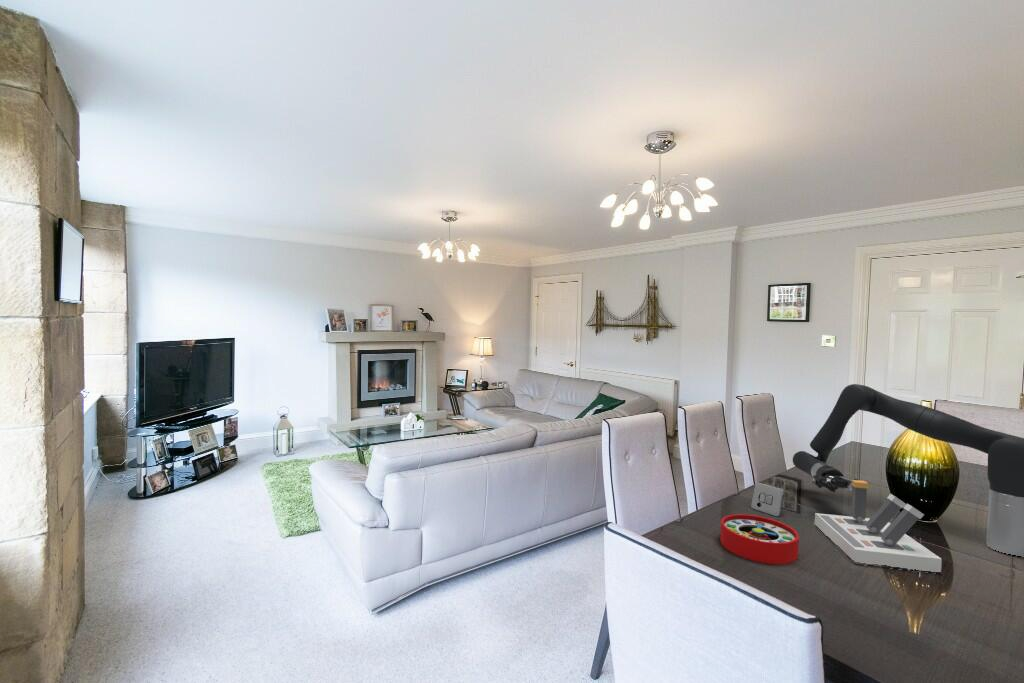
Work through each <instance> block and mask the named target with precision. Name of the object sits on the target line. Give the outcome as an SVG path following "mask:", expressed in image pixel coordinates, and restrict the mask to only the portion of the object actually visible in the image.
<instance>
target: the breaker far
mask: <svg viewBox="0 0 1024 683" xmlns="http://www.w3.org/2000/svg"><path fill="white" fill-rule="evenodd" d="M905 504H906V505H905V506H904V507H903V510H901V511H900V513H899V514H898V515H897V516H896V518H894V519H893V520H892V522H890V523H891V524H890V525H889V526H888V527H887V528H886V530H885V531H884V532H883V533H882V534H881V535H880V536H882V537H881V539H882V540H883V541H884V542H885V543H886V544H888V545H895V544H896V543H897V542H898V541H899V540H900V539H901V538H902V537H903V536H904V534H906V533H907V532H909V530H910V529H911V528H912V527H913V526H914V524H916V522H917V521H918V520H921V519H922V518H923V517H924V516H925V513H922V512H921V511H920V510H919V509H917V508H915V507H914V506H912V505H910V504H909V503H905Z"/></svg>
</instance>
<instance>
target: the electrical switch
mask: <svg viewBox="0 0 1024 683" xmlns="http://www.w3.org/2000/svg"><path fill="white" fill-rule="evenodd" d="M752 494H753V495H752V498H751V499H752V500H751V504H750V507H751V509H752V510H756V511H758V512H759V511H760V512H762V513H765V514H767V515H771V516H773V517H777V516H778V517H779V516H780V515H781V514H782V508H783V503H784V498H785V491H784V489H783V488H780V487H775V486H773V485H768V484H765V483H762V482H755V485H754V489H753V493H752Z"/></svg>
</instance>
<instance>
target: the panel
mask: <svg viewBox="0 0 1024 683" xmlns="http://www.w3.org/2000/svg"><path fill="white" fill-rule="evenodd" d="M870 518H871V517H870ZM870 518H869V517H865V520H863V521H862V522H858V521H857V520H856V519H854V518H853V517H851V515H850V516H848V515H838V514H829V513H827V514H826V513H818V512H817V513H816V512H815V513H814V526H815V525H816V526H817V527H818V528H819V529H820V530H821V531H822V532H823V533H824V534H825V535H826V536H828V537H829V538H830V539H831V540H832V541H833V542H834V543H835V544H836V545H838V546H839V547H840V548H841V549H842V550H843V551H844V552H845V553H846V554H847V555H848V556H849V557H850V558H851V559H852V560H854V561H855V562H860V563H866V564H878V565H887V566H891V567H900V568H910V569H916V570H922V571H931V572H941V573H942V558H941V557H940V556H938V555H937V554H935V553H933V552H932V551H931V550H929V548H926V547H925V546H924V545H923V544H921V543H919V542H918V541H916V540H915V539H914V538H912V537H911V536H909V535H907V534H906V533H905V534H904V536H903V537H902V538H901V539H900V540H899V541H898V542H897V543H896V544H895V545H888V544H886V543H885V542H884V541H883V540H882V539H881V537H882V536H880V535H881V534H882V533H883V532H884V531H885V530H886V528H887V527H888V526H889V525H890V524H891V523H892V522H890V521H889V522H888V523H887V524H886V525H885V527H884V528H883V529H882V530H881V531H880V532H879V533H877V532H876V533H872V532H871V531H870V530H869V529H867V527H866V526H867V525H866V523H867V521H868V520H869V519H870ZM816 526H815V527H816ZM817 527H816V528H817ZM818 528H817V529H818ZM819 529H818V530H819ZM820 530H819V531H820ZM821 531H820V532H821ZM822 532H821V533H822ZM823 533H822V534H823ZM824 534H823V535H824ZM825 535H824V536H825ZM826 536H825V537H826Z"/></svg>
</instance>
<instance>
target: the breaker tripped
mask: <svg viewBox="0 0 1024 683" xmlns="http://www.w3.org/2000/svg"><path fill="white" fill-rule="evenodd" d="M851 480H852V483H851V485H852V491H851V506H850V507H851V509H850V511H851V512H850V517H853V518H854V519H856V520H857V521H858V522H862V521H863V520H865V518H866V515H867V514H866V513H867V512H866V511H867V490H868V488H869V482H867V481H865V480H859V479H858V480H854V479H851Z"/></svg>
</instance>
